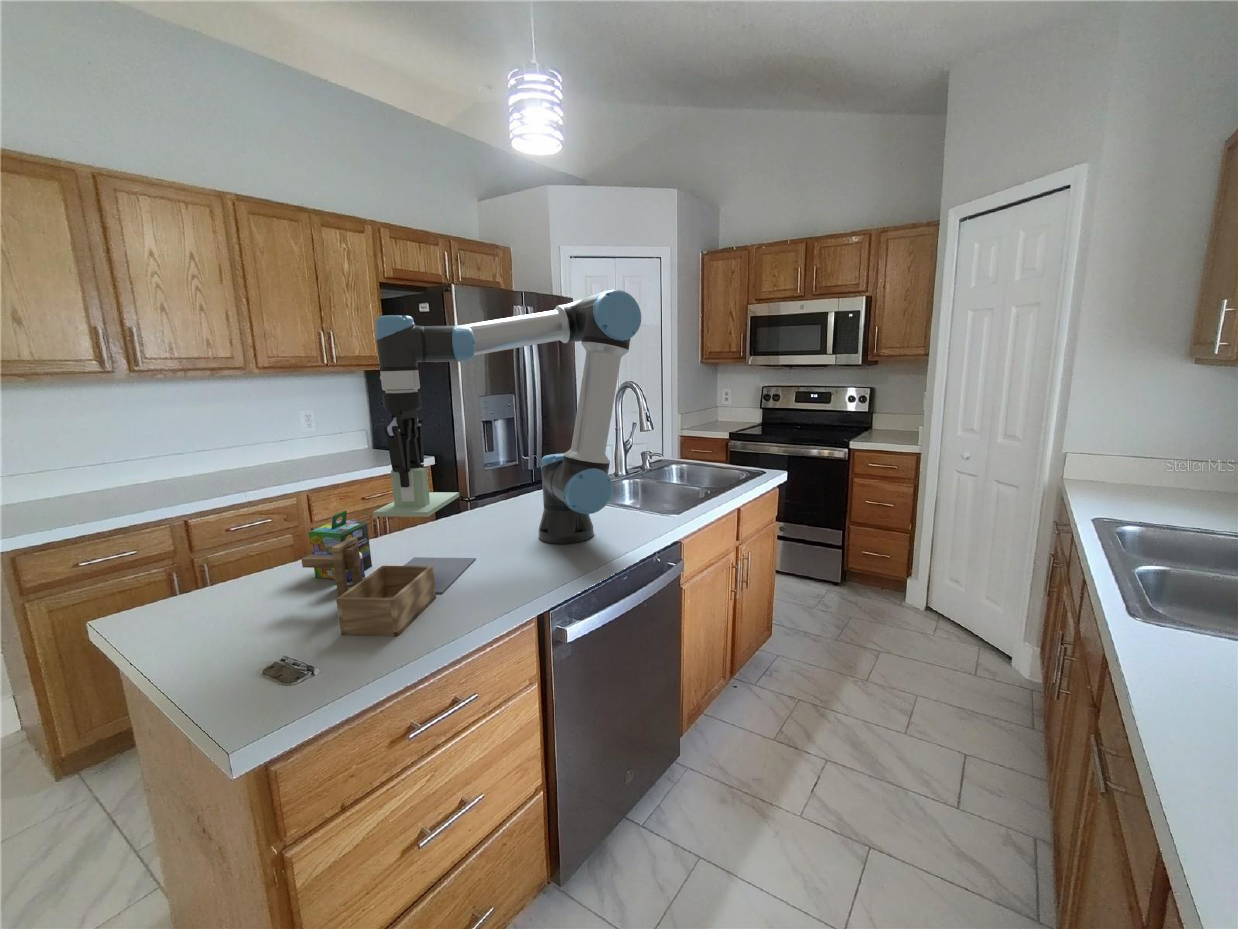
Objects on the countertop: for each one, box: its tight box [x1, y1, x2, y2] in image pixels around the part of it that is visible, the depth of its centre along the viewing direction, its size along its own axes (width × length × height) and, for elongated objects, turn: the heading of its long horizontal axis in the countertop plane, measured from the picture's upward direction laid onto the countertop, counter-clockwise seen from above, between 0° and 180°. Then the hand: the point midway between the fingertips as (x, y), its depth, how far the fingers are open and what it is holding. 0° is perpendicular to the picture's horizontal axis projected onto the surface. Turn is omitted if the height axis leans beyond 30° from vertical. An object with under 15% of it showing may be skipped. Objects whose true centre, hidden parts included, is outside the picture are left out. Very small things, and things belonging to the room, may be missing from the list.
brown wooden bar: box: [300, 546, 361, 569], centre depth 111 cm, size 2×11×4 cm, turn 84°
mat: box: [403, 556, 477, 595], centre depth 127 cm, size 16×20×1 cm
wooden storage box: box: [331, 538, 437, 637], centre depth 107 cm, size 16×17×13 cm
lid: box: [372, 467, 460, 518], centre depth 123 cm, size 17×12×9 cm
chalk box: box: [308, 510, 373, 580], centre depth 129 cm, size 9×9×15 cm
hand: (412, 499), depth 121 cm, fingers closed on lid, 2 cm apart
